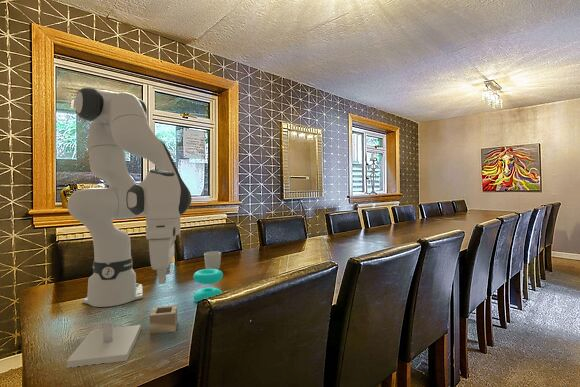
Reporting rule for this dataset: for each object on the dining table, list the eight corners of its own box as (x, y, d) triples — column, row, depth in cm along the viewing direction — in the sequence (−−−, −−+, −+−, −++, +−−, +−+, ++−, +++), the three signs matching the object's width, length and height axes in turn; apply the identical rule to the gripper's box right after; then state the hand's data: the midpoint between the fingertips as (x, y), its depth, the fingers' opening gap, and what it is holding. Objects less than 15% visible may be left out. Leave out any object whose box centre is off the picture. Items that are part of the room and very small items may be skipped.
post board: (91, 335, 86) (91, 312, 85) (140, 330, 89) (140, 308, 88) (66, 368, 70) (65, 340, 70) (126, 360, 73) (126, 334, 73)
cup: (203, 267, 158) (203, 250, 158) (219, 265, 161) (219, 249, 161) (204, 272, 148) (204, 255, 148) (222, 271, 151) (222, 254, 150)
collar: (153, 324, 92) (153, 307, 92) (177, 322, 94) (177, 304, 94) (149, 334, 86) (149, 315, 86) (175, 331, 88) (175, 313, 88)
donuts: (189, 275, 107) (197, 267, 117) (190, 305, 107) (197, 295, 117) (220, 275, 107) (225, 267, 117) (220, 304, 108) (225, 294, 118)
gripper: (157, 225, 99) (158, 270, 99) (144, 233, 79) (145, 290, 79) (178, 224, 100) (179, 268, 100) (171, 232, 80) (172, 287, 80)
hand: (164, 278), depth 89 cm, fingers open, 8 cm apart
